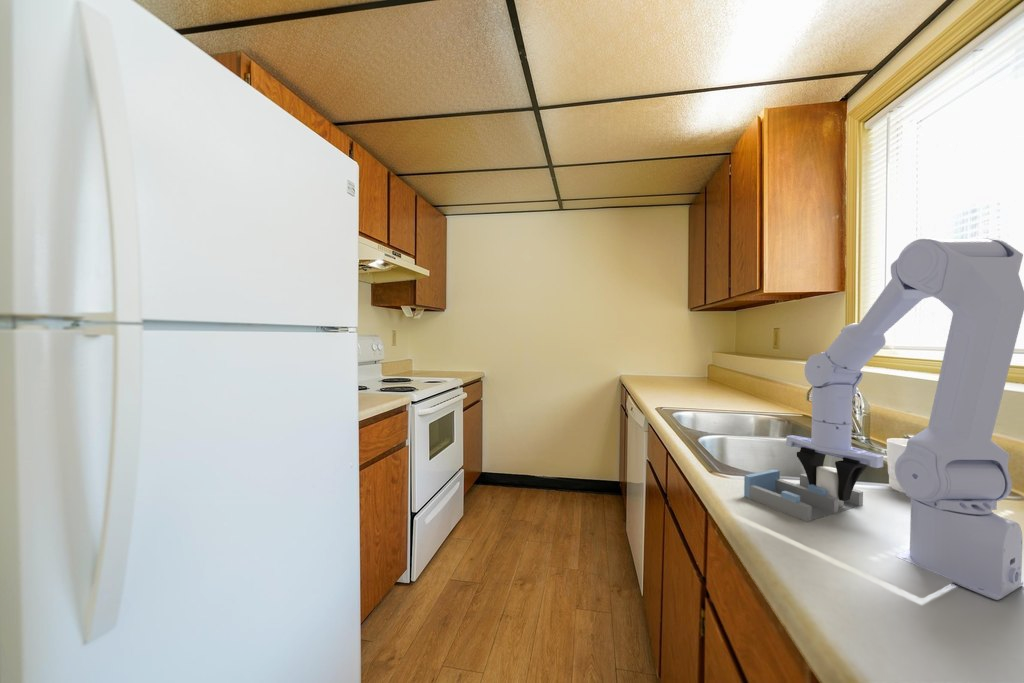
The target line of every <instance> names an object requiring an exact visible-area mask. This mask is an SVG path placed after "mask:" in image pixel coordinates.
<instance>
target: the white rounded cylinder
mask: <svg viewBox="0 0 1024 683" xmlns="http://www.w3.org/2000/svg"><path fill="white" fill-rule="evenodd" d="M838 485H839V481H838V474H837V469H836V467H832V466H824V465H823V466H819V467H817V468H816V486H819V487H822V488H825V489H827V495H829V496H832V497H835V498H838V499H839V497H838ZM843 506H844V501H841V500H839V501H838V507H843Z"/></svg>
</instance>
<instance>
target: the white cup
mask: <svg viewBox="0 0 1024 683" xmlns="http://www.w3.org/2000/svg"><path fill="white" fill-rule="evenodd" d="M909 439H910V438H900V437H899V438H897V437H892V438H891V437H890V438H887V439H886V454H887V455H886V456H887V457H886V458H887V462H886V463H887V473H888V487H889V488H891V489H892V490H895V491H898V493H899V492H900V493H903V494H906V492H905V491H904V490H903V489H902V487H901V486H900V484H899V483H898V481H897V478H896V475H895V463H896V461H897V459H898V458H899V457H900V456H901V455H902V454H903V453H904V451H905V449H906V446H907V441H908V440H909Z"/></svg>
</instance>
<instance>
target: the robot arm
mask: <svg viewBox="0 0 1024 683" xmlns="http://www.w3.org/2000/svg"><path fill="white" fill-rule="evenodd" d="M1023 258H1024V254H1023V253H1021V252H1020V251H1019V250H1018V249H1016V248H1014V247H1013V246H1012V245H1010V244H1008V243H1007V242H1006V241H1003V240H1001V239H998V238H983V239H953V238H952V239H950V238H949V239H945V238H944V239H942V238H941V239H940V238H939V239H937V238H933V237H932V238H931V237H924V238H919V239H918V238H917V239H915V240H913V241H912V242H910V243H908V244H907V245H906V246H905V247H904V248H903V249H902V250H901V252H900V253H899V256H898V258H896V260H894V262H892V263H891V265H890V275H891V279H890V280H889V282H888V283H887V285H886V286H885V287H884V289H883V290H882V292H881V293H880V294H879V296H878V297H877V298H876V299H875V301H874V303H872V305H871V306H870V308H869V310H868V311H867V312H866V314H865V315H864V316H863V317H862V319H861V320H860V322H854V323H849V324H847V325H845V326H844V327H842V329H841V330H840V333H839V335H837V336H836V338H835V339H834V340H833V341H832V343H831V344H829V346H828V347H827V348H826V350H825V351H821V352H819V353H818V354H812V355H810V356H809V357H808V359H807V361H806V362H805V365H804V377H805V379H806V381H807V382H808V383H809V384H810V385H811V386H812V387H811V388H812V391H811V401H812V402H811V431H810V432H811V438H810V437H804V436H798V435H786V436H785V438H786V442H785V443H786V445H785V446H786V447H791V448H792V447H795V448H798V449H800V450H799V451H797V452H796V457H797V458H798V460H799V462H800V463H801V466H802V467H803V469H804V472H805V474H806V475H807V478H808V481H809V485H811V484H813V485H816V468H817V467H819V466H824V463H825V459H826V458H825V457H826V456H830V457H835V458H838V459H841V460H837V461H835V462H834V465H835V468H836V469H837V474H838V481H839V485H838V497H839V500H841V501H846V500H850V496H851V493H852V490H853V489H854V487H855V486H856V483H857V481H858V480H859V478H860V477H861V475H862V474H863V472H864V471H865V470H866V469H867V468H868V466H869V467H870V468H875V469H879V468H883V467H884V455H883V454H879V453H876V452H875V453H873V452H870V451H867V450H866V449H865V450H864V449H861V448H858V447H854V446H852V432H853V431H852V430H853V428H852V427H853V423H852V422H853V398H854V397H855V395H857V387H858V385H859V384H860V383H861V381H862V379H863V375H864V373H863V371H862V369H863V368H864V367H865V366H866V364H868V363H869V362H870V360H871V359H873V358H874V357H875V355H877V353H878V352H879V351H881V349H882V348H884V346H885V345H886V342H887V341H886V337H885V333H886V332H887V331H889V330H890V329H891V328H892V327H893V326H894V325H896V323H898V322H899V321H900V320H901V319H902V318H904V316H905V315H906V314H907V313H909V312H910V311H911V310H912V309H913V308H914V307H916V306H917V305H918V304H919V303H920V302H921V301H922V300H924V299H928V298H935V299H937V300H939V301H940V302H941V303H942V304H943V305H944V306H946V307H947V308H948V309H949V310H950V311H951V312H952V316H951V322H950V326H949V330H948V335H947V340H946V344H945V347H944V348H945V349H944V353H943V359H942V362H941V367H940V372H939V376H938V380H937V385H936V389H935V394H934V399H933V404H932V407H931V412H930V416H929V421H928V426H926V427H925V428H924V429H923V430H921V431H920V432H918V433H916V434H915V435H914V436H912V437H910V438H908V439H909V440H908V441H907V446H906V449H905V451H904V453H903V454H902V455H901V456H900V457H899V458H898V459H897V461H896V463H895V475H896V478H897V481H898V483H899V484H900V486H901V487H902V489H903V490H904V491H905V492H906V493H905V496H906V497H909V498H910V522H909V523H910V524H909V525H910V526H909V549H908V550H905V551H903V552H900V553H897V554H896V555H895V558H897V559H900V560H902V561H905V562H907V563H910V564H912V565H914V566H917V567H919V568H922V569H924V570H927V571H930V572H931V573H935V574H937V575H939V576H942V577H944V578H947V579H949V580H952V581H953V582H952V583H953V584H956V585H958V586H961V587H963V588H964V589H967V590H970V591H971V592H972V591H973V592H975V593H978V594H979V595H983V596H985V597H987V598H990V599H992V600H996V601H998V600H1001V599H1003V598H1005V597H1006V596H1008V595H1009V594H1011V593H1012V592H1014V591H1015V590H1017V589H1018V588H1020V587H1022V586H1023V585H1024V581H1023V580H1022V566H1023V564H1022V563H1023V530H1022V527H1021V524H1019V523H1018V522H1017V521H1014V520H1011V519H1009V518H1005V517H1003V516H1001V515H998V514H996V513H994V512H993V511H996V510H997V508H998V507H997V505H998V504H997V503H998V502H1001V501H1003V500H1005V499H1006V498H1008V497H1009V495H1010V494H1011V492H1012V489H1013V481H1012V477H1011V475H1010V471H1009V461H1010V454H1009V453H1008V452H1007V450H1005V449H1004V448H1002V447H1001V446H999V445H998V444H997V443H996V442H995V441H994V440H992V438H993V433H994V430H995V426H996V421H997V418H998V414H999V410H1000V406H1001V403H1002V402H1001V401H1002V398H1003V396H1004V395H1003V394H1004V390H1005V387H1006V383H1007V379H1008V375H1009V371H1010V366H1011V362H1012V359H1013V354H1014V351H1015V347H1016V343H1017V338H1018V335H1019V333H1020V332H1019V331H1020V327H1021V324H1022V319H1023V314H1024V287H1023V283H1022V280H1021V277H1020V275H1019V272H1020V269H1021V264H1022V261H1023Z"/></svg>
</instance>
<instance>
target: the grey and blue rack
mask: <svg viewBox="0 0 1024 683" xmlns="http://www.w3.org/2000/svg"><path fill="white" fill-rule="evenodd" d="M780 476H781V475H780V470H777V469H770V470H769V469H768V470H765V471H760V472H754V473H750V474H746V475H744V476H743V477H744V478H743V480H744V482H743V483H744V484H743V485H744V486H743V487H744V488H743V491H744V492H743V497H744V498H745V499H746V498H747V499H749V500H752V501H754V502H757V503H759V504H761V505H764V506H766V507H769V508H771V509H774V510H777V511H779V512H781V513H784V514H786V515H789V516H792V517H794V518H796V519H799V520H801V521H804V522H806V523H808V522H812V521H814V520H815V521H816V520H818V519H822V518H824V517H828V516H831V515H836V514H838V513H841V512H844V511H848V510H851V509H854V508H855V509H856V508H857V507H861V506H864V501H863V500H864V491H861V490H858V489H856V488H853V490H852V493H851V496H850V500H846V501H844V506H843V507H838V501H839V499H838V498H835V497H832V496H829V495H827V489H825V488H822V487H819V486H816V485H813V484H811V485H809V481H808V478H807V475H806V473H801V474H799V483H796V484H795V483H792V482H790V481H787V480H784V479H780Z"/></svg>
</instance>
